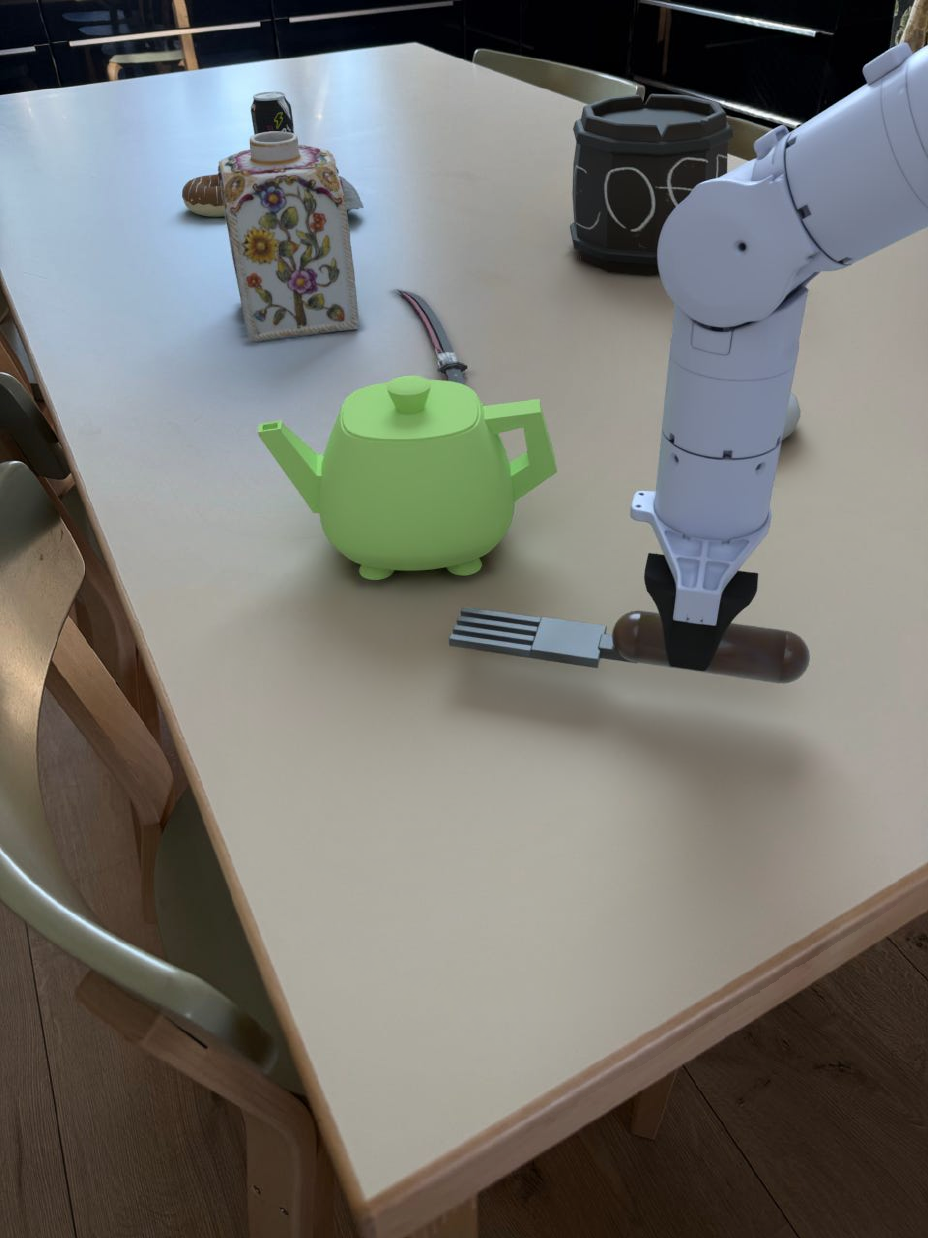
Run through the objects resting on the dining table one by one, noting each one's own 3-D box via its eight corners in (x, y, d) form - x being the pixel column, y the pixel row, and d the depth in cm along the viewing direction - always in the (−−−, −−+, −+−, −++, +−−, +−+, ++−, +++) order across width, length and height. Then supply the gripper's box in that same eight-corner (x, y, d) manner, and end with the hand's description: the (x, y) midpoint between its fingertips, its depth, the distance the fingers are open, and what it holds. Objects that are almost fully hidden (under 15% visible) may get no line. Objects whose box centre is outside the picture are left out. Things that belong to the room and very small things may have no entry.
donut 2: (169, 215, 136) (162, 184, 134) (219, 194, 143) (214, 165, 141) (228, 224, 132) (223, 193, 129) (277, 203, 139) (273, 173, 137)
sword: (486, 405, 88) (486, 392, 87) (453, 409, 87) (452, 396, 87) (422, 294, 112) (422, 283, 111) (396, 297, 111) (395, 286, 111)
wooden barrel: (676, 291, 108) (692, 136, 98) (540, 261, 117) (543, 116, 107) (746, 244, 119) (767, 101, 109) (617, 220, 128) (626, 85, 118)
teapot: (270, 605, 67) (238, 439, 59) (290, 500, 77) (264, 347, 69) (565, 591, 67) (572, 423, 59) (544, 488, 77) (548, 334, 69)
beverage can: (307, 179, 148) (296, 90, 140) (288, 190, 144) (275, 99, 136) (274, 176, 150) (262, 89, 142) (254, 187, 146) (240, 97, 138)
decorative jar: (240, 303, 110) (209, 127, 98) (343, 291, 112) (324, 117, 100) (248, 345, 101) (215, 156, 89) (361, 331, 103) (342, 144, 91)
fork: (804, 662, 57) (814, 622, 55) (804, 699, 54) (814, 659, 53) (462, 613, 61) (461, 575, 60) (448, 646, 59) (446, 606, 57)
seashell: (296, 206, 137) (291, 168, 134) (354, 200, 139) (351, 162, 136) (305, 233, 128) (300, 192, 125) (368, 226, 130) (365, 186, 126)
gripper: (655, 362, 54) (636, 563, 63) (617, 499, 43) (601, 720, 52) (789, 372, 52) (751, 577, 61) (784, 518, 42) (738, 742, 50)
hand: (690, 644), depth 56 cm, fingers closed on fork, 3 cm apart
